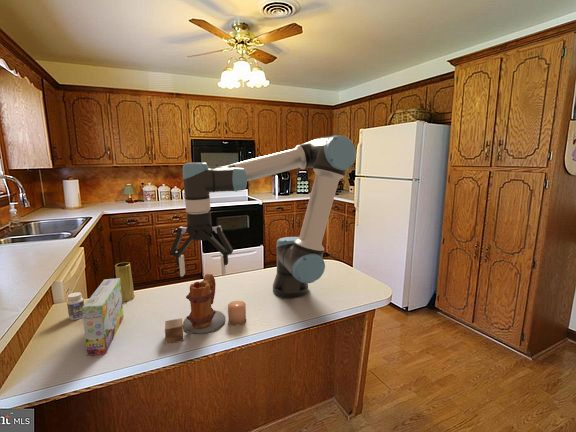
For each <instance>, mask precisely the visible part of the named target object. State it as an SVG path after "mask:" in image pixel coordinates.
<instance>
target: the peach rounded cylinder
mask: <svg viewBox="0 0 576 432" xmlns="http://www.w3.org/2000/svg"><path fill="white" fill-rule="evenodd" d="M246 308H247V307H246V302H245V301H243V300H232V301H231V302H229V303H228V304H227V318H228V324H229V325H232V326H241V325H243V324H245V323H246V321H247V312H246V311H247V309H246Z"/></svg>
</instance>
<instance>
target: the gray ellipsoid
mask: <svg viewBox="0 0 576 432" xmlns="http://www.w3.org/2000/svg"><path fill="white" fill-rule="evenodd" d="M213 310H214V309H213ZM214 311H216V313H215V314H214V317H213V318H212V322H211V324H210V325H208V326H207V327H203V328H195V327H193V326H192V323H191V322H190V320H188V319H187V316H186V317H185V318H184V320H182V324H183V330H184V331H186V332H187V333H190V334H193V335H194V334H195V335H203V334H204V335H205V334H209V333H212V332H216V331H217V330H219V329H220V328H222V327H224V325H225V323H226V315H225V314H224V313H223V312H222V311H219V310H214Z"/></svg>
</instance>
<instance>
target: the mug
mask: <svg viewBox="0 0 576 432" xmlns="http://www.w3.org/2000/svg"><path fill="white" fill-rule="evenodd" d="M215 295H216V279H215V276H214V275H213V274H212V273H206V274H205V275H204V277H203V279H202V280H200V281H195V282H193V283H191V284H190V285H189V293H188V294H187V295H186V296H185V299H187V300H188V301H189V303H190V313H189V315H187V316H186V317H187V319H188V320H190V322H191V323H192V326H193V327H195V328H203V327H207V326H208V325H210V324H211V322H212V318H213V317H214V314H215V313H216V311H217V310H216V311H214V309H213V308H212V305H214V300H215Z"/></svg>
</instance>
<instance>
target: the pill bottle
mask: <svg viewBox="0 0 576 432" xmlns="http://www.w3.org/2000/svg"><path fill="white" fill-rule="evenodd" d="M66 305H67V313H68V318H69V320H71V321H75V320H80V319H83V313H82V307H83V306H84V305H85V303H84V297H83V296H82V293H81V292H79V291H78V292H72V293H69V294H68V295H67V302H66Z"/></svg>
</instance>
